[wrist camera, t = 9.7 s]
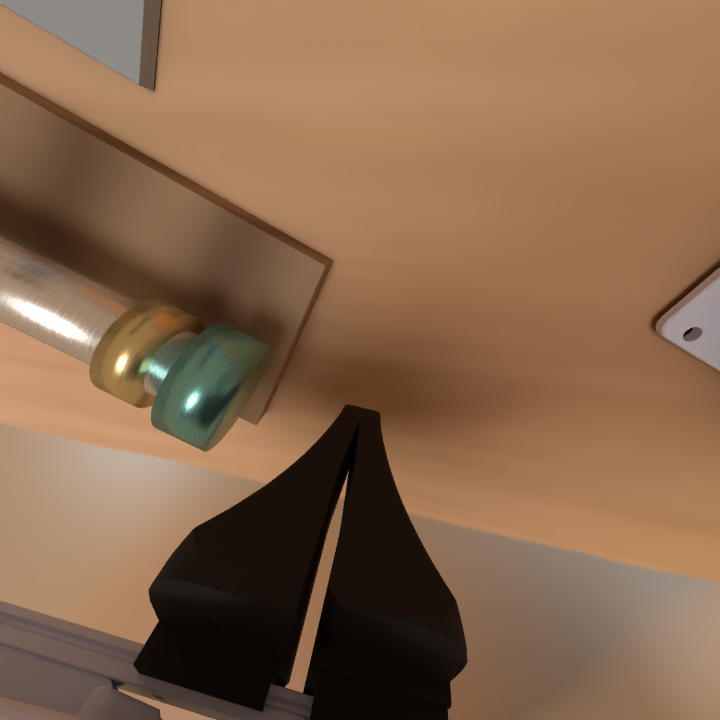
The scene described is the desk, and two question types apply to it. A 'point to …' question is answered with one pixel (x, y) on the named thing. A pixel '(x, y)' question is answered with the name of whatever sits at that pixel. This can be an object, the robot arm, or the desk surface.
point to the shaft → (135, 345)
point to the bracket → (150, 230)
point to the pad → (102, 30)
